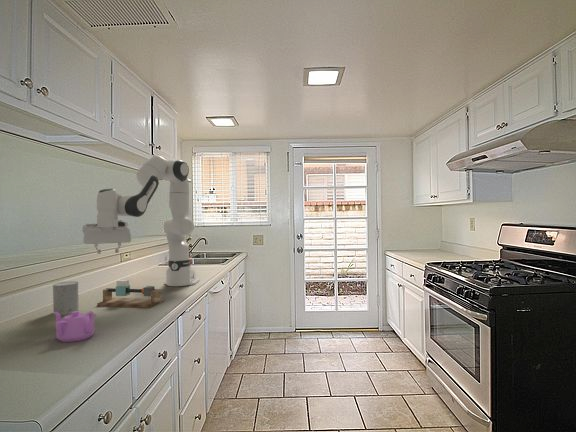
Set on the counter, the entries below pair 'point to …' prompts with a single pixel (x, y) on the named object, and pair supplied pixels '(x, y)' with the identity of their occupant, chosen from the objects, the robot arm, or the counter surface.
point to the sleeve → (122, 288)
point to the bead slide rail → (137, 290)
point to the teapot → (74, 326)
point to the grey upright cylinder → (65, 297)
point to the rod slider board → (130, 300)
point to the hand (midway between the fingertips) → (108, 253)
